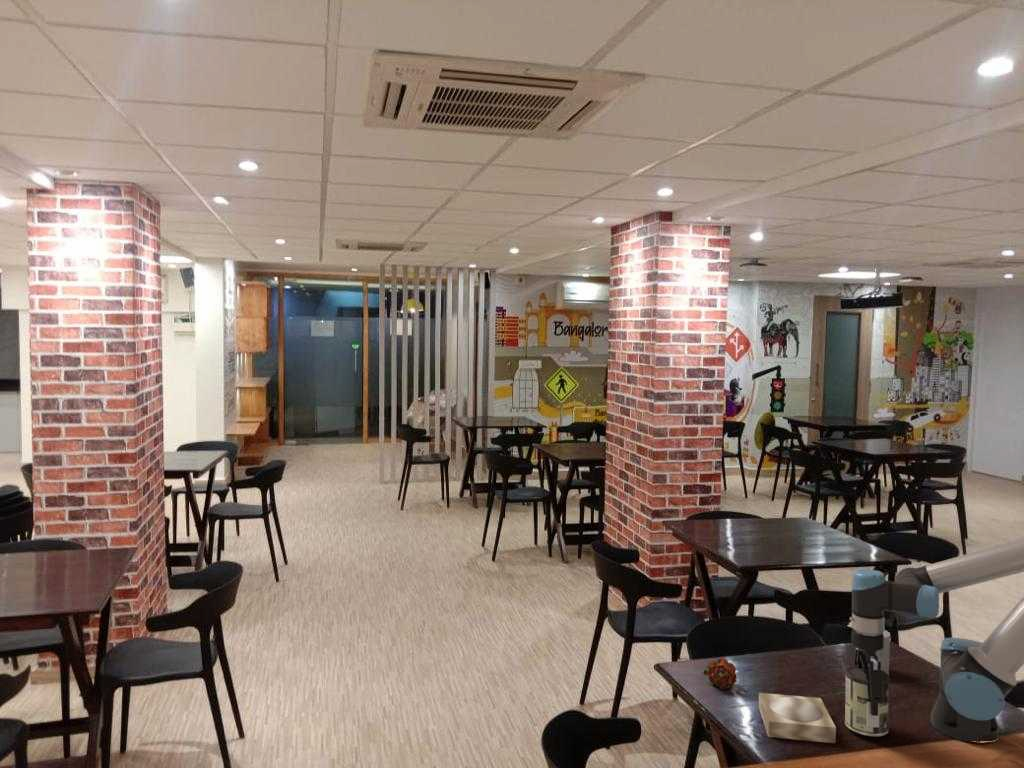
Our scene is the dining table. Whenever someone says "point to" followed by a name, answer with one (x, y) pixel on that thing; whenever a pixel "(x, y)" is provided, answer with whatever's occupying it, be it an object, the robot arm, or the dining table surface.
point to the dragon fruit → (721, 673)
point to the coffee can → (864, 702)
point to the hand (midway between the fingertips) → (866, 716)
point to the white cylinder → (884, 653)
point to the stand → (796, 718)
